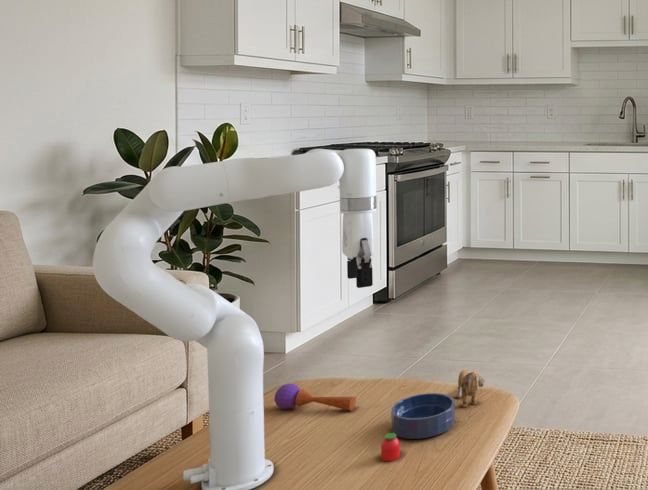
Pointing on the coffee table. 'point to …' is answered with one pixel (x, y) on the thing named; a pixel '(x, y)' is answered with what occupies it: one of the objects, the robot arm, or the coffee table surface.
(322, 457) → the coffee table surface
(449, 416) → the bowl
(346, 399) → the maraca
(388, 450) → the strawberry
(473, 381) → the tan animal figure
